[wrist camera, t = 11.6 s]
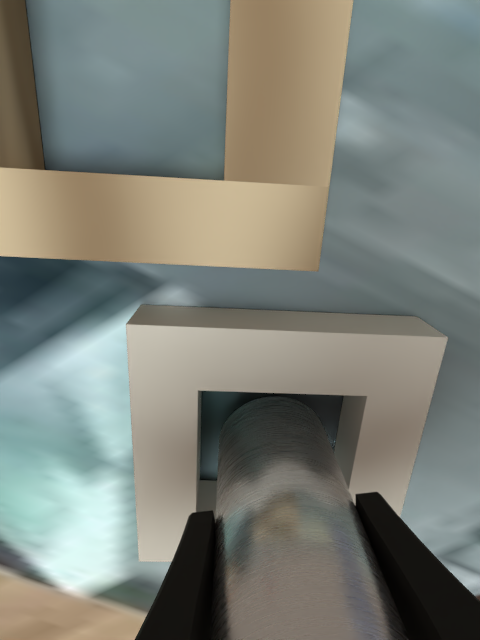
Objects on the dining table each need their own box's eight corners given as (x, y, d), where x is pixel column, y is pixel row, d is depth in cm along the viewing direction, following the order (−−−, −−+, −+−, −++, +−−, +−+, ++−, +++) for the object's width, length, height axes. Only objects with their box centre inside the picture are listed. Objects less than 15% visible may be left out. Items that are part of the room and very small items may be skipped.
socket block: (352, -204, 9) (398, -349, 6) (301, 255, 12) (318, 271, 10) (-127, -255, 8) (-270, -434, 6) (-31, 239, 12) (-95, 251, 10)
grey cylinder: (318, 386, 13) (492, 762, 4) (330, 475, 14) (483, 897, 6) (208, 407, 13) (168, 808, 4) (230, 493, 14) (232, 930, 6)
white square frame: (416, 316, 13) (448, 337, 11) (369, 521, 17) (387, 564, 15) (141, 304, 13) (126, 324, 11) (149, 517, 16) (139, 561, 14)
